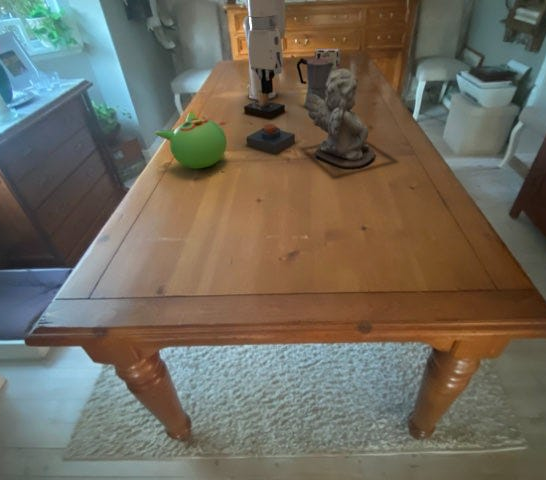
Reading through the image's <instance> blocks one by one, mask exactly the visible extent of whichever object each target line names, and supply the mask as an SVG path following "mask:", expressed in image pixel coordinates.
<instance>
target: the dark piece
mask: <svg viewBox="0 0 546 480" xmlns="http://www.w3.org/2000/svg"><path fill="white" fill-rule="evenodd" d="M245 140H246V146H247V147H249V148H253V149H256V150H259V151H264V152H267V153H271V154H274V155H278V154H279V153H281V152H282V151H284V150H286V149H287V148H289V147H291V146H292V145H293V144H295V143H296V134H295V133H292V132H289V131H284V130H281V129H280V128H279V127H277V126H276V132H273V133H266V132H264V127H262V128H261V129H259V130H256V131H255V132H253V133H251V134H249V135H247V136H245Z"/></svg>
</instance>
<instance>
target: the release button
mask: <svg viewBox="0 0 546 480" xmlns="http://www.w3.org/2000/svg"><path fill="white" fill-rule="evenodd" d="M276 127H277V125H275V124H273V123H269V124H265V125H264V126H263V128H264V132H266V133H273V132H276Z"/></svg>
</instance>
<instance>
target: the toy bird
mask: <svg viewBox="0 0 546 480" xmlns="http://www.w3.org/2000/svg"><path fill="white" fill-rule="evenodd" d="M155 135H156V136H158V137H160V138H162V139H164V140H167V141H169V148H170V152H171V154H172V156H173V158H174V159H175V160H176V161H177V162H178V163H179V164H180V165H181V166H183V167H186V168H189V169H196V170H197V169H205V168H208V167H211V166H213V165H215V164H216V163H218V162H219V161H220V160H221V158H222V157H223V156H224V154H225V153H226V149H227V143H228V141H227V137H226V134H225V132H224V130H223V129H222V127H221V126H220V125H219V124H218V123H216V122H214V121H213V120H210V119H206V118H197V117H196V115H195V112H194V110H189V112H188V113H187V116H186V120H185V122H182V123H181V124H179V125H178V126H177V127H176V128H175V129H161V130H157V131H155Z"/></svg>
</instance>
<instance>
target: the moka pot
mask: <svg viewBox="0 0 546 480" xmlns="http://www.w3.org/2000/svg"><path fill="white" fill-rule="evenodd" d="M320 56H321V54H319V53H318V54H317V58H315V57H314V58H311V59H309V58H300V59H299V61H298V62H297V63H296V69H297V72H298V77H299V81H300V84H303V85H306V84H307V90H306V96H305V103H304V106H305V107H306V108H307V103H308V95H309V94H314V95H316V96H318V97H320V98H321V99H323V100H325V101H326V96H325V94H326V90H325V85H326V82H327V78H328V74H329V72H330V70H331V68H332V66H333V65H334V63H333V62H331V61H329V60H327V59H322V58H320ZM301 64H302V65H304V66H306V75H307V81H305V80H304V79H303V74H302V71H301Z"/></svg>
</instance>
